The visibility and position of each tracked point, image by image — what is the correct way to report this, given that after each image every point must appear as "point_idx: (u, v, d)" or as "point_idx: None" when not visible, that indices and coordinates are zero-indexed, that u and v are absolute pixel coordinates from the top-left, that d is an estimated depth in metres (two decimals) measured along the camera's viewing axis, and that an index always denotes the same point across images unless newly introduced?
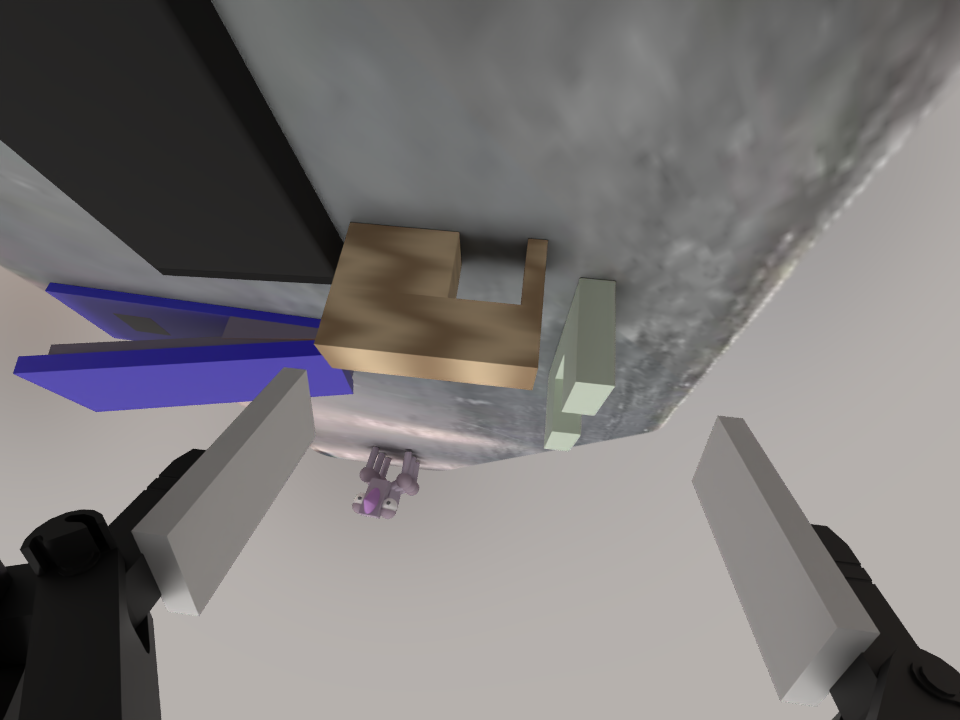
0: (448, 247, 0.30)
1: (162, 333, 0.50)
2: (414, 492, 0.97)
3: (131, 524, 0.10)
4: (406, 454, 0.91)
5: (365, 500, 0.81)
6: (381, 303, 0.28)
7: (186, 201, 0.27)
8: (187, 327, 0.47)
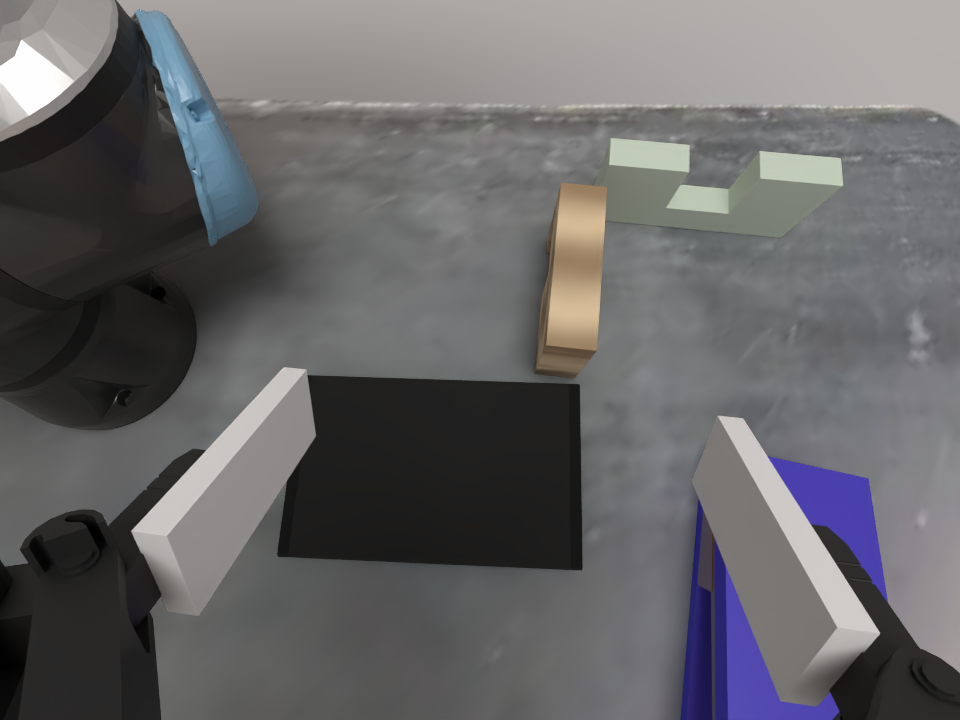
0: (542, 297, 0.41)
1: None
2: None
3: (130, 524, 0.10)
4: None
5: None
6: (545, 315, 0.36)
7: (480, 459, 0.37)
8: None
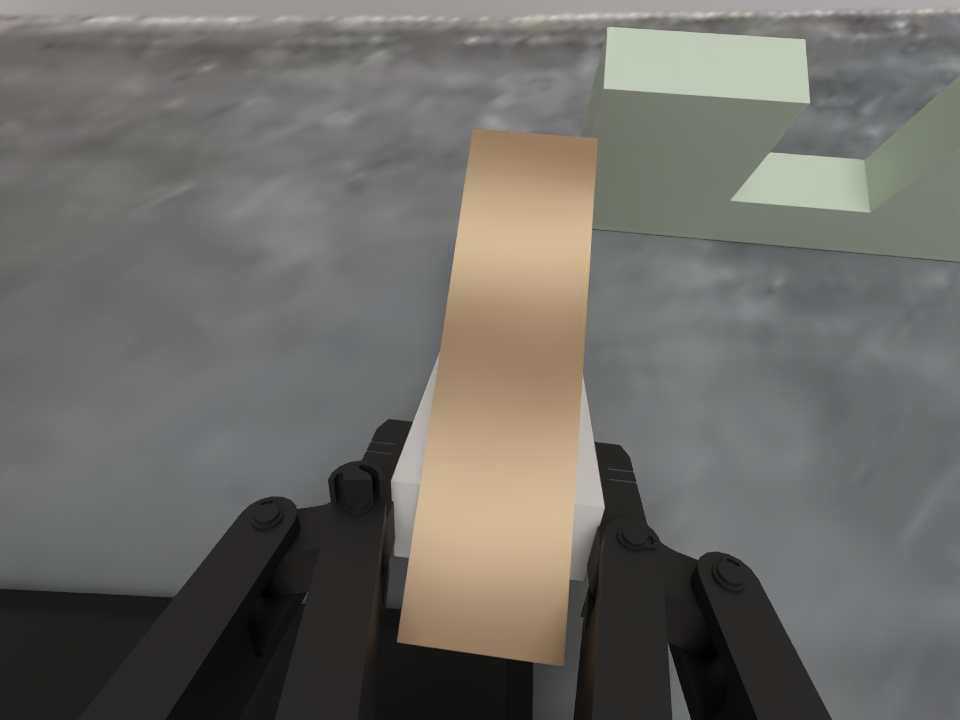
0: None
1: None
2: None
3: None
4: None
5: None
6: None
7: None
8: None
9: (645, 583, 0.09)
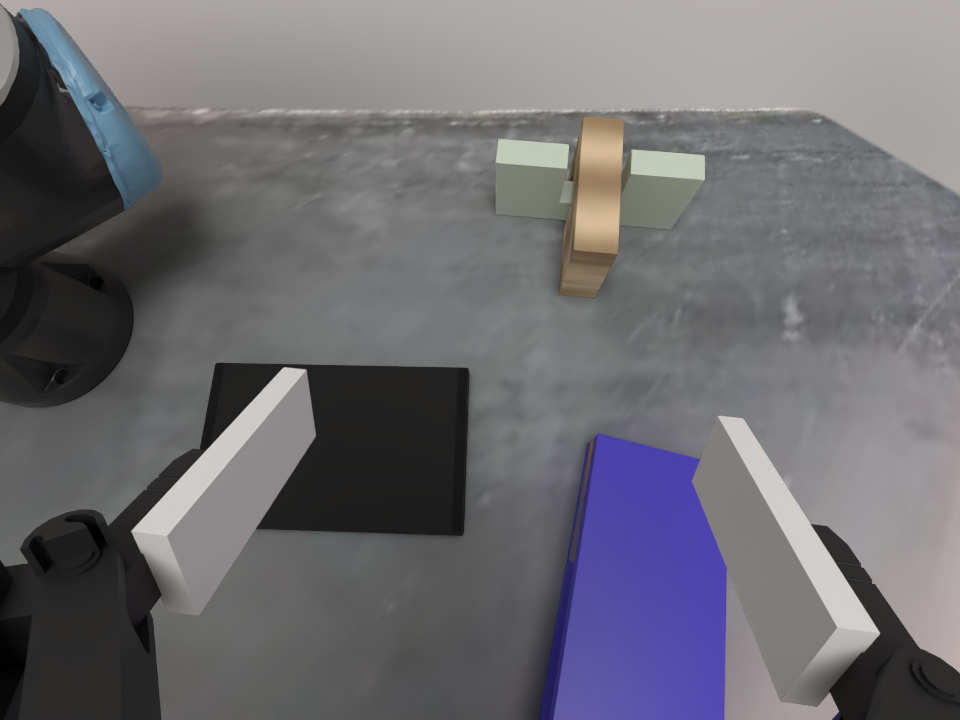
0: (565, 227, 0.47)
1: None
2: None
3: (130, 524, 0.10)
4: None
5: None
6: (570, 233, 0.41)
7: (374, 436, 0.40)
8: None
9: None
